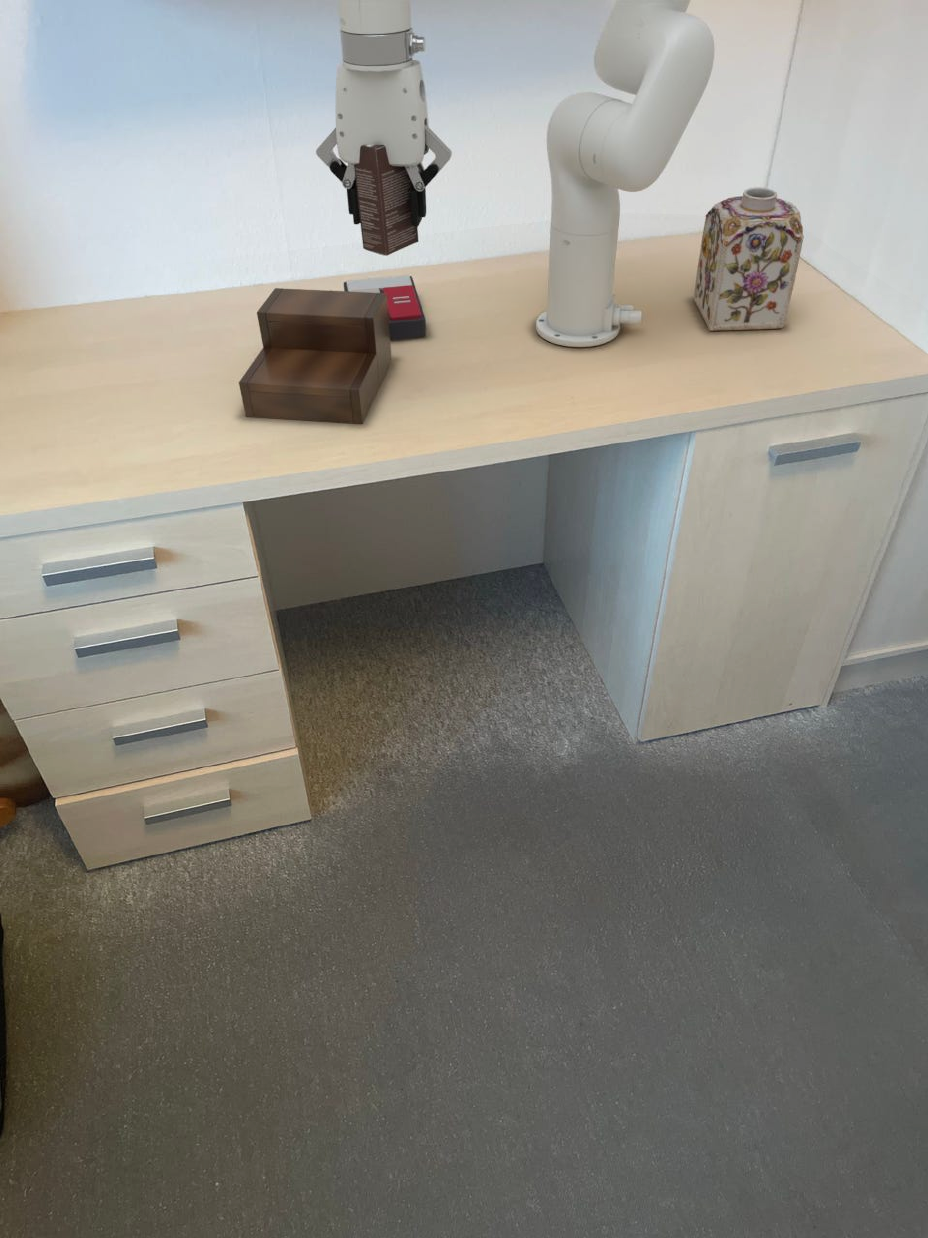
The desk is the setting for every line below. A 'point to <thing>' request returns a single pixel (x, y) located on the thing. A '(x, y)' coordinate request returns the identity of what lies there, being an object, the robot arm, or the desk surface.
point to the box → (383, 202)
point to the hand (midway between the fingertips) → (388, 220)
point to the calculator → (396, 304)
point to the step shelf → (318, 356)
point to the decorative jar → (748, 261)
